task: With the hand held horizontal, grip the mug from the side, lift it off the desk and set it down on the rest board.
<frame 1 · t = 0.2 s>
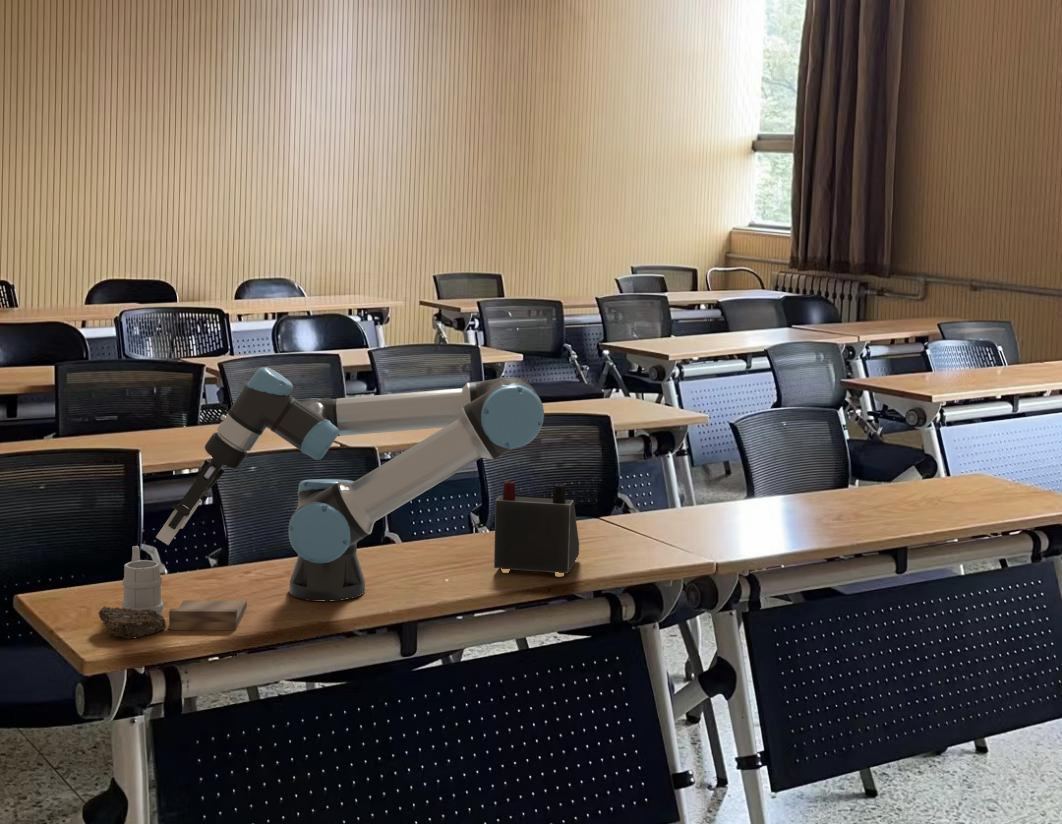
hand: (169, 532, 261), 15 cm above the table, tool tilted 35°, fingers open, 13 cm apart
mug: (140, 613, 261), on the table
concrete sample: (133, 634, 249), on the table
rest board: (209, 618, 258), on the table
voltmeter: (537, 568, 302), on the table
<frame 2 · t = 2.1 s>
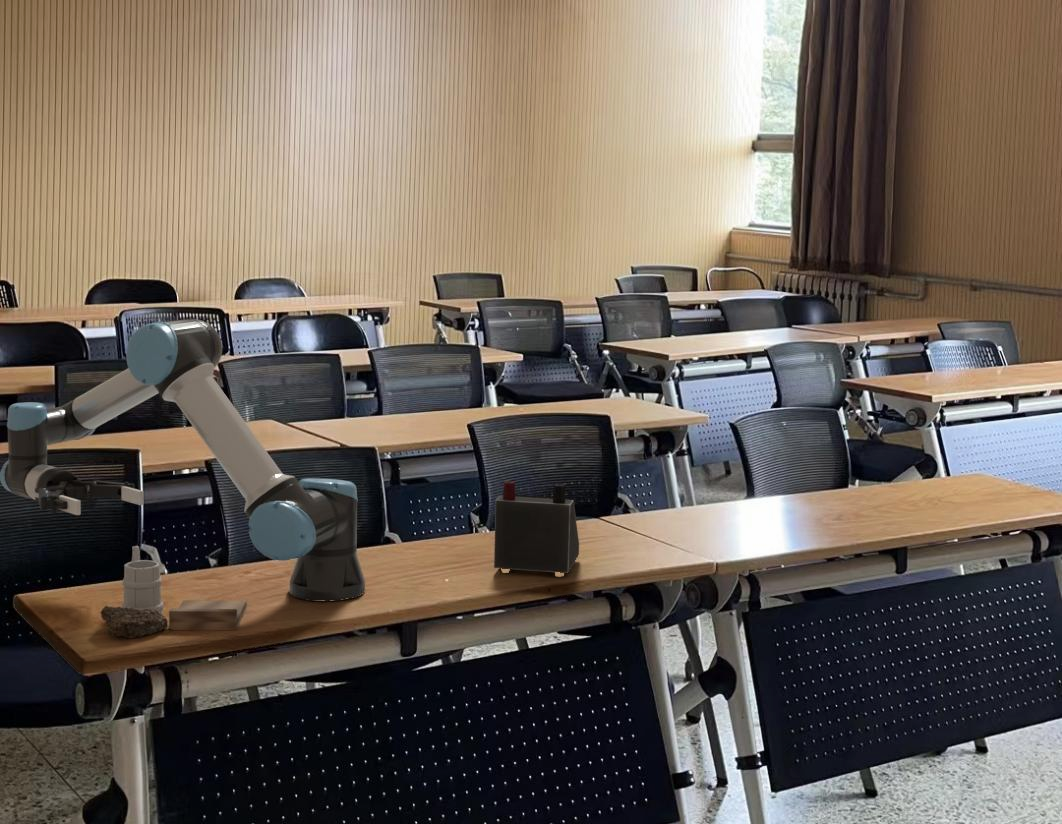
hand: (111, 503, 265), 20 cm above the table, tool horizontal, fingers open, 13 cm apart
nothing on the table moved.
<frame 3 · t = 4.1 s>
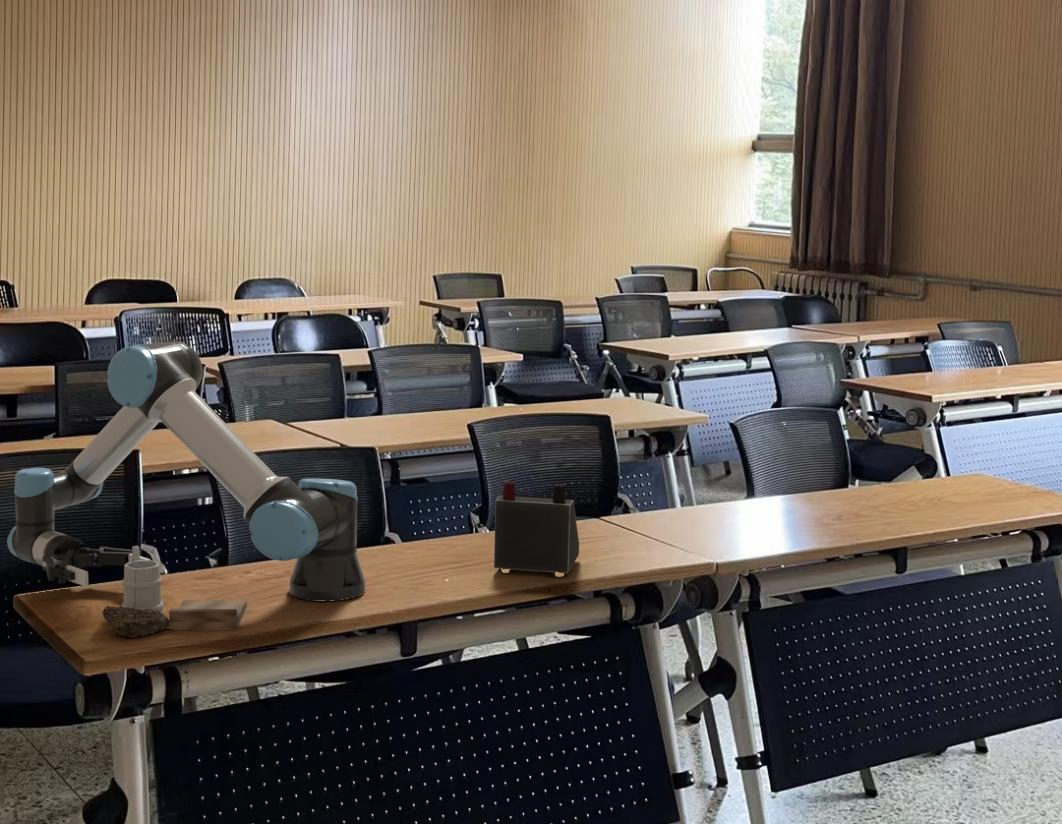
hand: (118, 572, 265), 6 cm above the table, tool horizontal, fingers open, 13 cm apart
nothing on the table moved.
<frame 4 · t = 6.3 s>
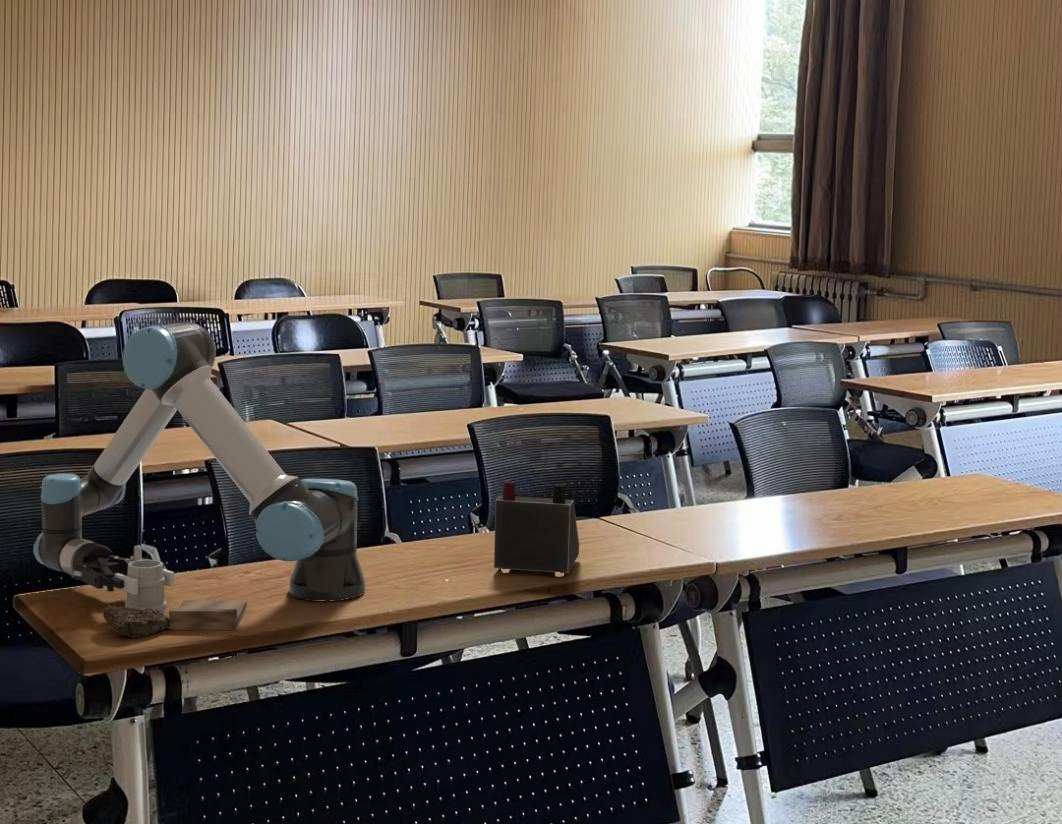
hand: (154, 583, 257), 7 cm above the table, tool horizontal, fingers closed on mug, 7 cm apart
mug: (143, 612, 262), on the table, touching gripper
concrete sample: (137, 633, 250), on the table, touching rest board
everything else where it was.
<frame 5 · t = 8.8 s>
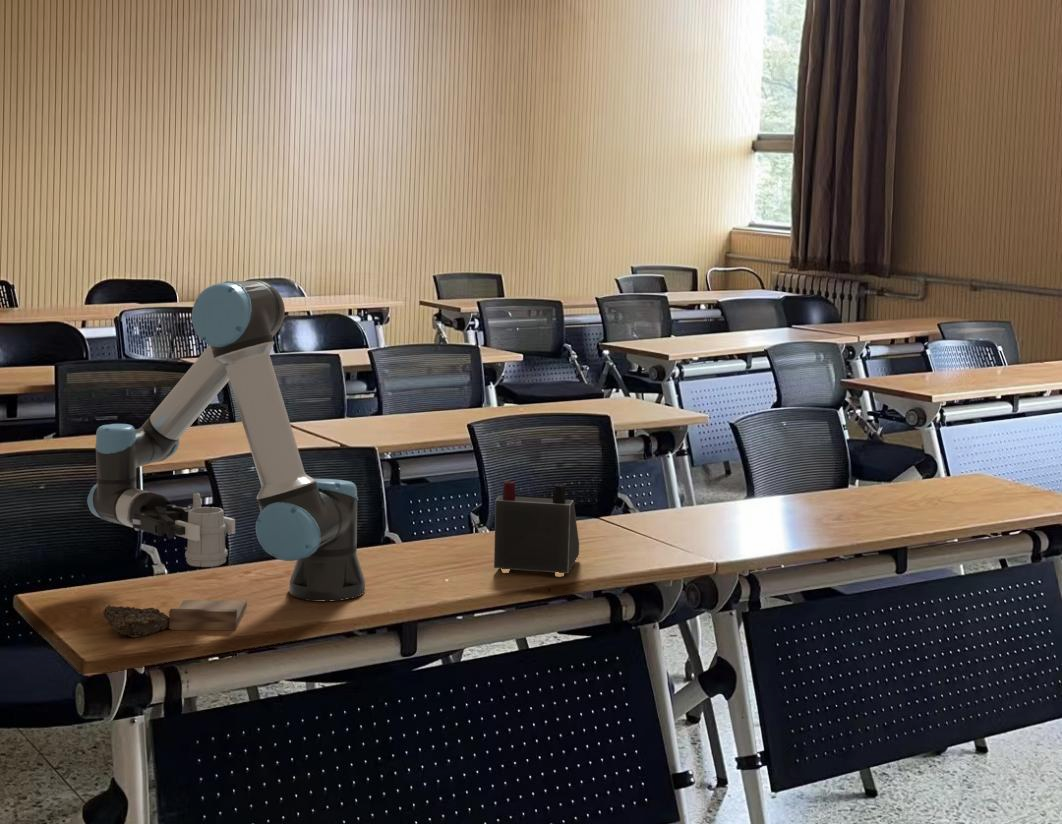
hand: (215, 530, 253), 18 cm above the table, tool horizontal, fingers closed on mug, 7 cm apart
mug: (203, 561, 257), point 11 cm above the table, touching gripper
concrete sample: (138, 633, 250), on the table
everything else where it was.
when the fingers open (9 cm above the table, at t = 10.9 s): mug drops 1 cm, resting on rest board.
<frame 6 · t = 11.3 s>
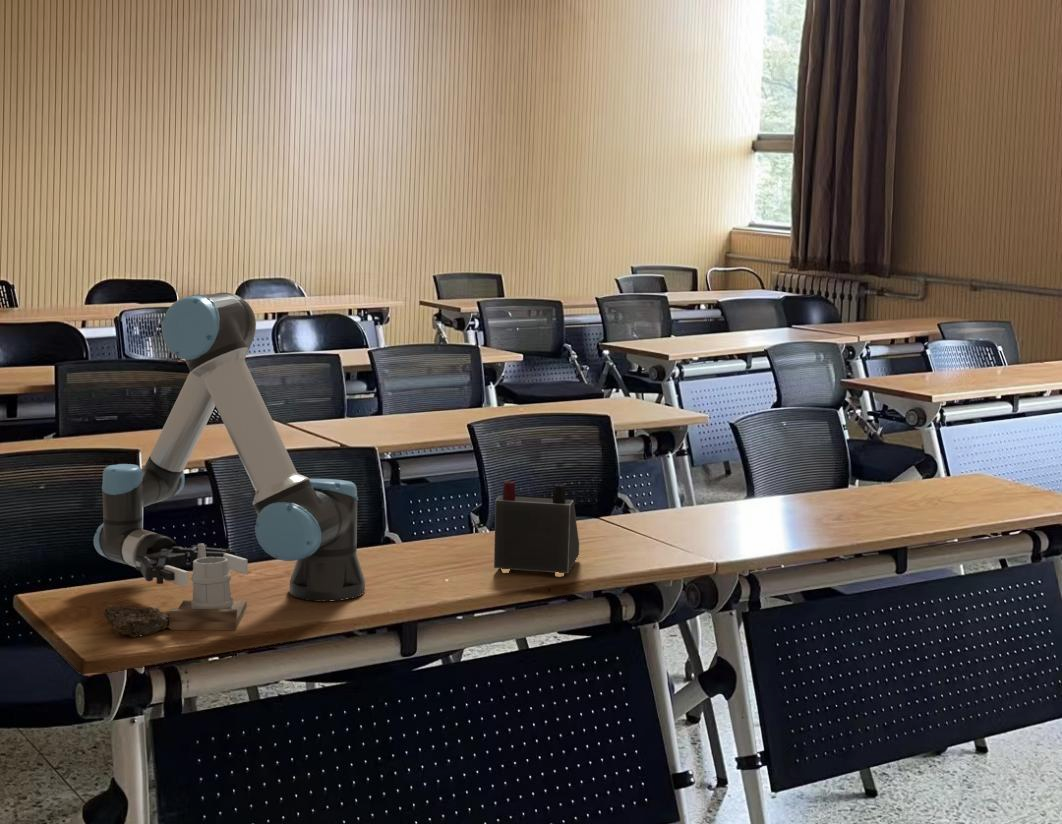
hand: (217, 572, 255), 10 cm above the table, tool horizontal, fingers open, 12 cm apart
mug: (209, 610, 258), point 1 cm above the table, touching rest board
everything else where it was.
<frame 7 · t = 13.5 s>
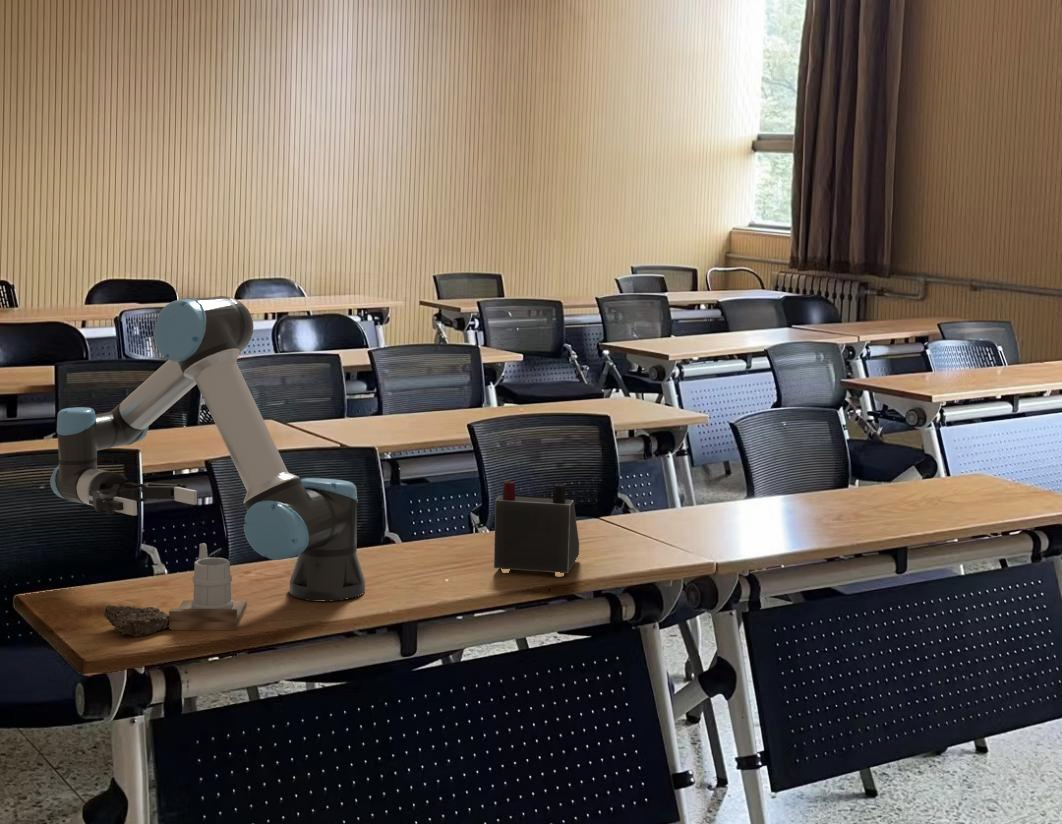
hand: (165, 502, 265), 20 cm above the table, tool horizontal, fingers open, 13 cm apart
nothing on the table moved.
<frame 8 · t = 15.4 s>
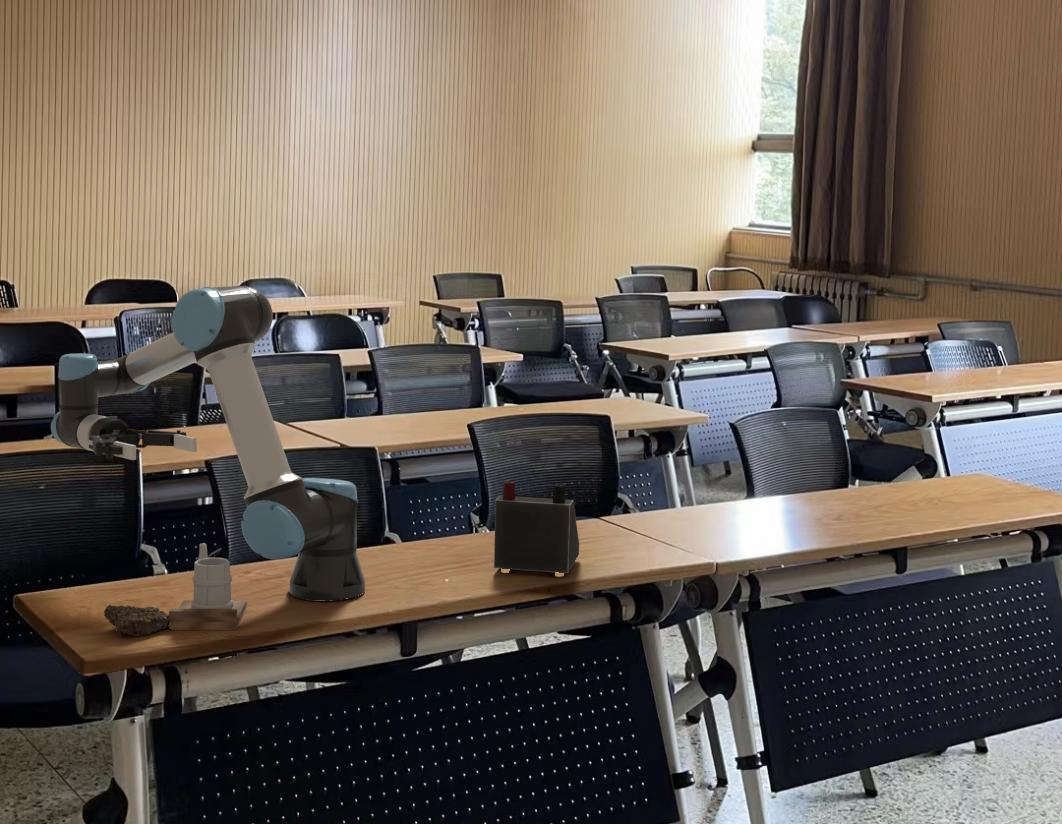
hand: (165, 448, 266), 30 cm above the table, tool horizontal, fingers open, 13 cm apart
nothing on the table moved.
at the end: mug inside the target area (0.4 cm from its centre), point 1.3 cm above the table; mug tilted 0°; the gripper is holding nothing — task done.
